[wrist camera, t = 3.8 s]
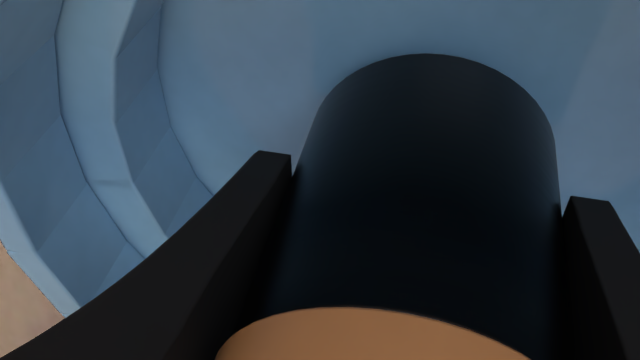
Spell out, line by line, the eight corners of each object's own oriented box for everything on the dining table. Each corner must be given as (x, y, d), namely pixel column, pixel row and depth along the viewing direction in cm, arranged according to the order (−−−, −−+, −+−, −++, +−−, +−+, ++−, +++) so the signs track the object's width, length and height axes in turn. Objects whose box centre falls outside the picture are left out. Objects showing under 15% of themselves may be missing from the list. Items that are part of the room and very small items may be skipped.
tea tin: (623, 145, 11) (706, 518, 6) (448, 270, 14) (423, 571, 10) (396, -8, 10) (304, 306, 5) (266, 165, 13) (145, 448, 9)
